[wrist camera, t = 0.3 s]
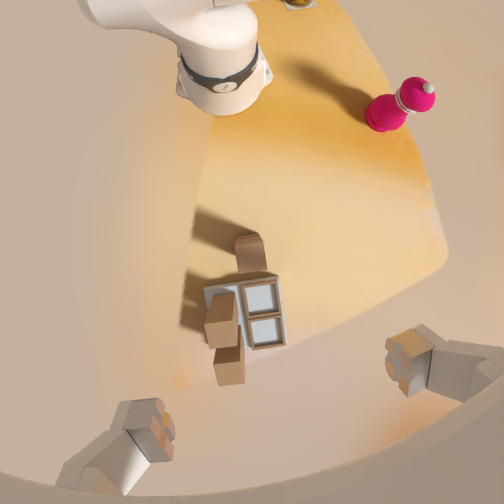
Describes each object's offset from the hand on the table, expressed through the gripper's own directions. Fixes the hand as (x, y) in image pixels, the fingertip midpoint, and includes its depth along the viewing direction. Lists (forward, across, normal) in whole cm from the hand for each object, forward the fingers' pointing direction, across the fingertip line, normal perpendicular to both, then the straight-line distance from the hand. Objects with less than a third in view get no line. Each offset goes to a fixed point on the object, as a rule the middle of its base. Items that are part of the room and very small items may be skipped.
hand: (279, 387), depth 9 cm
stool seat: (+45, +1, +18) cm, 48 cm away
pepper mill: (+46, -34, -15) cm, 59 cm away
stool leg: (+46, -3, +5) cm, 46 cm away
